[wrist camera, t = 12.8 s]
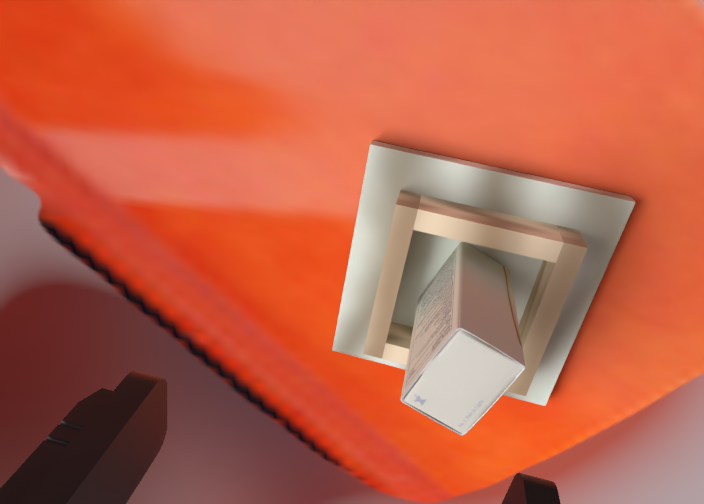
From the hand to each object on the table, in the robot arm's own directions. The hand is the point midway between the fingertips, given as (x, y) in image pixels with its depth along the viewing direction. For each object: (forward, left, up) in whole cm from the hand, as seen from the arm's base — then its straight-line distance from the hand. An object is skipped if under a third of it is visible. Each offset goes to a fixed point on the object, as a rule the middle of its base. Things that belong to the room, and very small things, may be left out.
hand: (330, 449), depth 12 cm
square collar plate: (+5, -9, -28) cm, 30 cm away
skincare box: (+5, -9, -27) cm, 29 cm away
